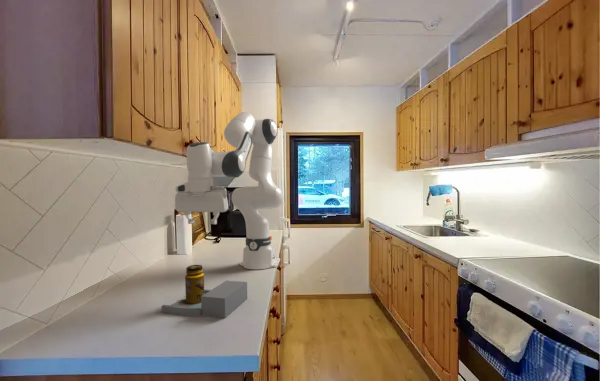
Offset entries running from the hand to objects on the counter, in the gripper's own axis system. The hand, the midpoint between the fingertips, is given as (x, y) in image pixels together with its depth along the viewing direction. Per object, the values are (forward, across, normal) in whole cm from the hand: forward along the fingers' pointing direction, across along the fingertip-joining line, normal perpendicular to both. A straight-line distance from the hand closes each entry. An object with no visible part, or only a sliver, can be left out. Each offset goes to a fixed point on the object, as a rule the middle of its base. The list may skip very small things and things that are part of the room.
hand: (202, 223), depth 116 cm
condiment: (+25, -2, +11) cm, 27 cm away
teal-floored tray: (+25, -7, +11) cm, 29 cm away
